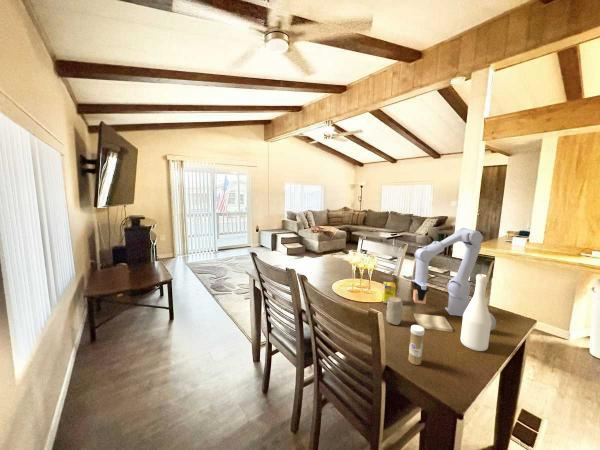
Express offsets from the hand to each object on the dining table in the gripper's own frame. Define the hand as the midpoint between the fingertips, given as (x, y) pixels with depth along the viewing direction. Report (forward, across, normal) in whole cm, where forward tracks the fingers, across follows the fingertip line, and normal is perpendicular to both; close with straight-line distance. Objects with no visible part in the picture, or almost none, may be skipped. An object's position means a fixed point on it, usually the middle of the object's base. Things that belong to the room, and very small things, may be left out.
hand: (419, 298), depth 133 cm
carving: (+9, +13, -14) cm, 21 cm away
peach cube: (+2, 0, 0) cm, 2 cm away
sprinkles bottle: (+9, +41, -9) cm, 43 cm away
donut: (+9, +11, +24) cm, 28 cm away
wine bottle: (+9, +24, +17) cm, 30 cm away
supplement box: (+9, -10, -14) cm, 19 cm away
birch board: (+8, +9, +4) cm, 13 cm away
